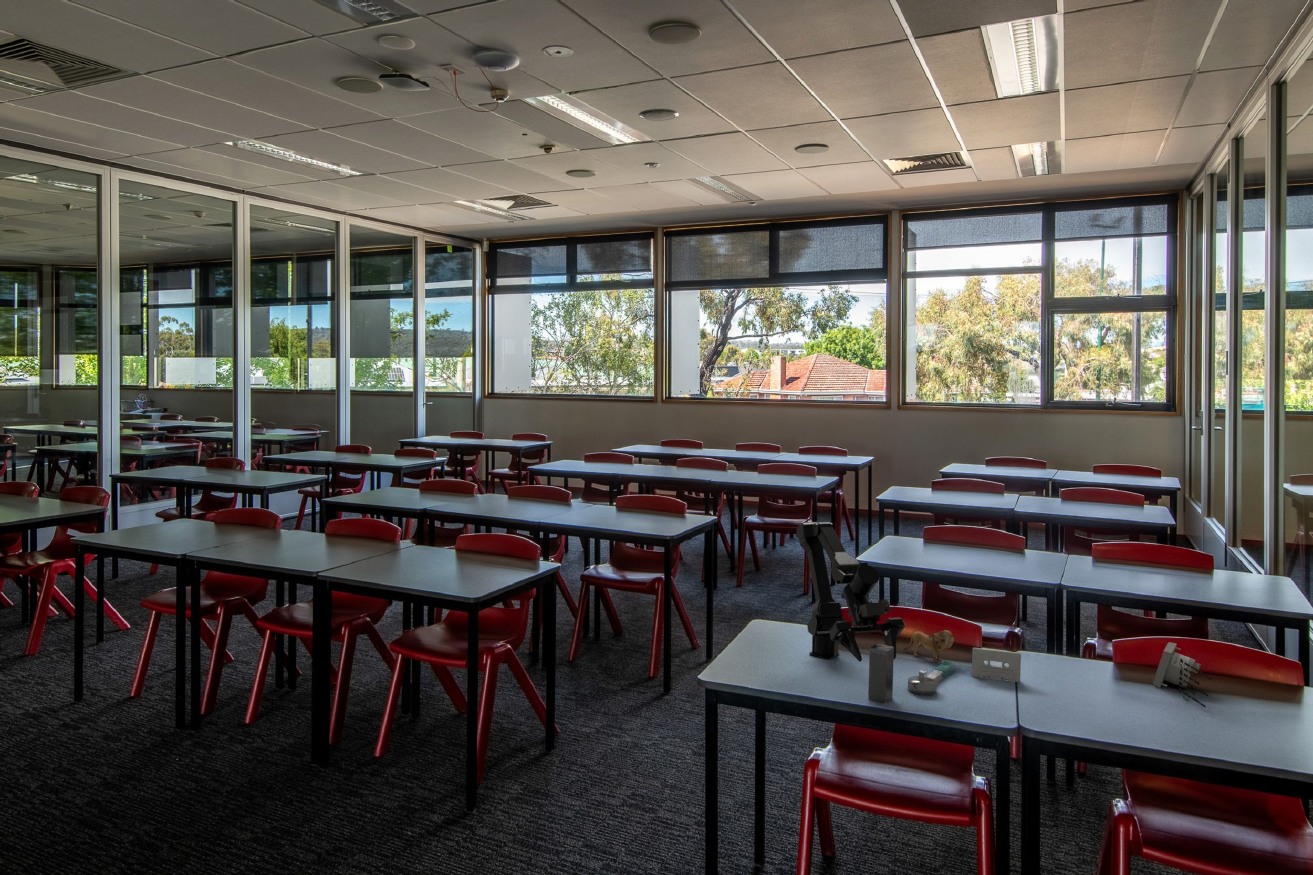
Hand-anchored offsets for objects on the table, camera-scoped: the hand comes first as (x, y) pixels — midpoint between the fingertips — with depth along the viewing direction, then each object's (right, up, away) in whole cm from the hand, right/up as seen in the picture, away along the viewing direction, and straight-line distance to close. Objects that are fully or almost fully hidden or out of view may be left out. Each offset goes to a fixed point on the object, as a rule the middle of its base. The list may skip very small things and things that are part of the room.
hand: (877, 659), depth 207 cm
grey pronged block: (+78, -10, +3) cm, 79 cm away
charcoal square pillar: (0, -9, -1) cm, 9 cm away
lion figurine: (+23, -8, +30) cm, 38 cm away
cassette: (+35, -9, +14) cm, 39 cm away
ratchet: (+18, -9, +11) cm, 23 cm away
